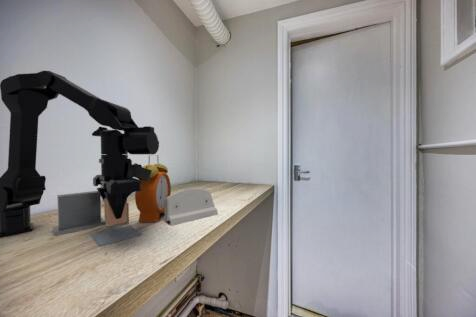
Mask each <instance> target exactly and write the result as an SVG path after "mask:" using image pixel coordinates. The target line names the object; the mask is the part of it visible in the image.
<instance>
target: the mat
mask: <svg viewBox="0 0 476 317" xmlns="http://www.w3.org/2000/svg"><path fill="white" fill-rule="evenodd" d="M141 235H143V234H142V232H140V231H139V230H137V229H136V228H135V227H133V226H132V225H131V224H128V225H125V226H120V227H117V228H115V227H114V228H112V229H108V230H103V231H98V232H95V233H91V235H90V236H91V237H92V238H93V240H94V241H95V242H96V244H97V245H98V246H99V247H103V246H106V245H110V244H113V243H118V242H120V241H124V240H127V239H131V238H134V237H138V236H141Z"/></svg>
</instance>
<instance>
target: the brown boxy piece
mask: <svg viewBox="0 0 476 317" xmlns="http://www.w3.org/2000/svg"><path fill="white" fill-rule="evenodd" d="M103 203H104V205H103V206H104V208H103V209H104V220H105V223H106V226H112V225H115V224H120V223H124V222H127V203H128V199H127V200H126V203H125V206H124V210H123V213H122V217H121V218H119V219H116V218H115V216H114V214H113V212H112V209H111V207H110V205H109V203H108V200H107V198H104V201H103Z"/></svg>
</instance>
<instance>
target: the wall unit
mask: <svg viewBox="0 0 476 317" xmlns="http://www.w3.org/2000/svg"><path fill="white" fill-rule="evenodd" d="M56 197H57V226H53V227H52V231H53V232H52V233H53V235H54V237H57V236H61V235H65V234H70V233H71V234H72V233H74V232H79V231H83V230H88V229H92V228H96V227H101V225H102V226H105V225H106V226H107V224H106V223H105V218H103V217H102V205H101V204H102V203H101V199H102V197H101V196H100V194H99V192H98V190H93V191H92V190H91V191H85V192H76V193H75V192H74V193H67V194H58V195H57V196H56Z"/></svg>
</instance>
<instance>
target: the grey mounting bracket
mask: <svg viewBox="0 0 476 317" xmlns="http://www.w3.org/2000/svg"><path fill="white" fill-rule="evenodd" d="M217 215H219V214H218V208H216V206H215V202H214V201H213V196H212V194H211V192H210V190H207V189H201V188H190V189H183V190H180V191H177V192H174V193H173V194H171V195H170V196H168V197H167V198H166V199H165V214H164V223H166V222H169V224H170V226H175V225H179V224H180V225H181V224H185V223H188V222H192V221H196V220H197V221H198V220H200V219H205V218H209V217H213V216H217Z"/></svg>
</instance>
